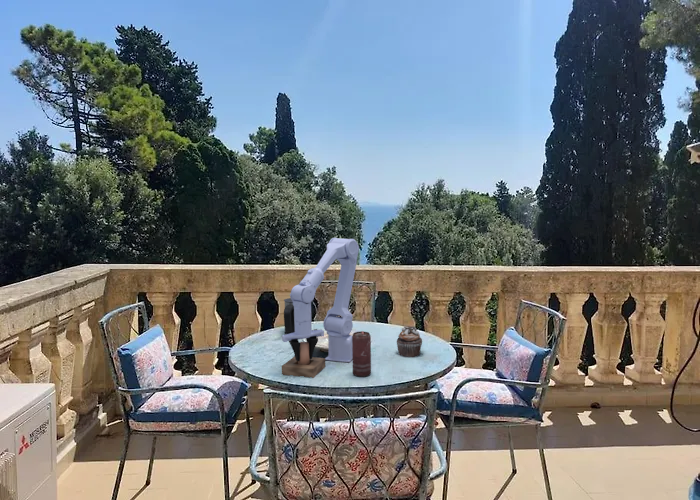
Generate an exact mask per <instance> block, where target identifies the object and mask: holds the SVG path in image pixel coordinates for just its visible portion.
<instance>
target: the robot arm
mask: <svg viewBox="0 0 700 500" xmlns="http://www.w3.org/2000/svg"><path fill="white" fill-rule="evenodd" d="M359 249H360V246H359V243H358V241H356V240H355V239H354V238H338V237H332V238H331V239H330V240H329V241H328V243H327V244H326V251H325V252H324V254H322V257H321V258H320V260H319V261H318V263H317V265H316V266H315V267H311V268H310V269H308V270H307V273H306V274H305V275H304V277H303V278H302V280H300V281H299V284H296V285H294V286H293V287H292V289H291V291H290V293H289V298H291V299H292V301H293V306H294V322H295V332H294V333H290V334H282V335H281V340H282V342H284V343H289V345H290V346H291V348H292V351H293V354H294V356H295V359H296V360H297V361H300V344H301V343H300V342H301V341H299V340H304V339H305V340H306V342H308V343H309V358H310V359H312V357H313V355H314V351H315V348H316V346H317V344H318V342H319V338H318V337H325V331H326V335H328V336H327V337H328V338H327V339H328V343H327V344H328V346H327V347H328V355H327V356H326V357H325V361H332V362H341V363H342V362H343V363H344V362H345V363H350V362H351V361H353V355H352V336H353V334H351V332H352V330H353V314H352V313H351V311H349V305H350V300H351V295H352V294H351V293H352V289H353V284H354V280H355V278H354V277H355V274H356V270H357V269H356V267H357V261H358V255H359ZM336 260H337V261H338V262H339V264H340V270H339V276H338V281H337V286H336V291H335V296H334V297H335V298H334V302H333V306H332V307H331V308H330V309H328V310H327V313H326V316H325V317H324V319H323V329H324V330H323V329H317V330H314V329H312V301H314V300H315V299H314V298H315V296H316V292H317V289H318V287H319V286H320V285H321V283H322V282H323V281H324V279H325V275H324V274H325V272H326V271H327V270H329V268H330V267H331V266H332V264H333V263H334V262H335V261H336Z"/></svg>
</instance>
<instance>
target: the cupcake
mask: <svg viewBox="0 0 700 500" xmlns="http://www.w3.org/2000/svg"><path fill="white" fill-rule="evenodd" d="M419 332H420V331H419V330H417V328H416V327H415V326H408V327H407V326H403V327H401V331H400V333H399V334H398V338H397V339H396V345H397V346H396V347H397V352H398V354H399V356H401V357H406V358H411V357H412V358H415V357H419V356H420V355H421V348H422V344H423V338H422V337H421V335H420V333H419Z"/></svg>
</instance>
